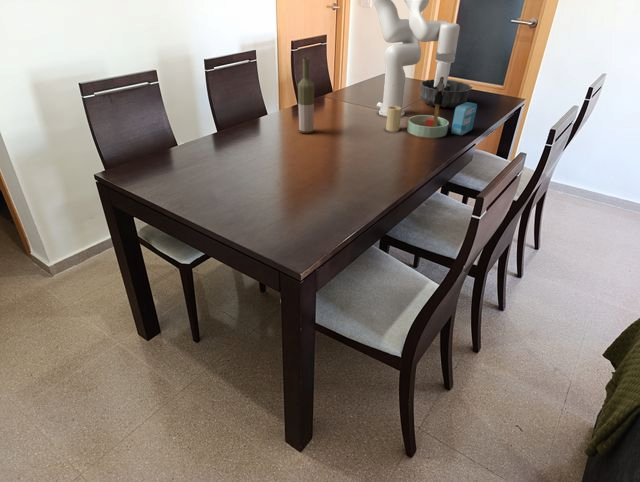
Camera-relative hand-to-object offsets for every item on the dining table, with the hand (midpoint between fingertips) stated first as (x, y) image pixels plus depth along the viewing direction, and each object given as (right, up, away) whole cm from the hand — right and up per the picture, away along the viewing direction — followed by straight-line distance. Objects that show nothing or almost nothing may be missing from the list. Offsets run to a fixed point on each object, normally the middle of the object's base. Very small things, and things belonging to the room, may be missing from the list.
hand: (437, 103), depth 183 cm
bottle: (-56, -11, +4) cm, 58 cm away
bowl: (-3, -11, +6) cm, 13 cm away
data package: (+12, -11, +6) cm, 18 cm away
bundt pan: (+15, +14, +45) cm, 49 cm away
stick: (0, -9, +6) cm, 11 cm away
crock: (-18, -10, +7) cm, 22 cm away
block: (-1, -8, +9) cm, 12 cm away
